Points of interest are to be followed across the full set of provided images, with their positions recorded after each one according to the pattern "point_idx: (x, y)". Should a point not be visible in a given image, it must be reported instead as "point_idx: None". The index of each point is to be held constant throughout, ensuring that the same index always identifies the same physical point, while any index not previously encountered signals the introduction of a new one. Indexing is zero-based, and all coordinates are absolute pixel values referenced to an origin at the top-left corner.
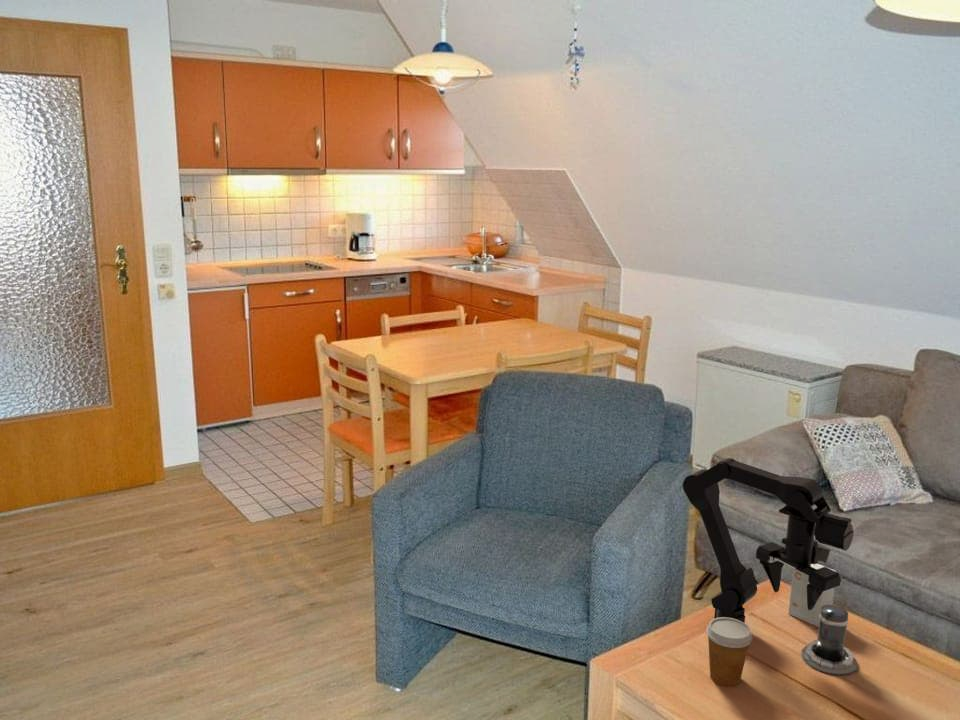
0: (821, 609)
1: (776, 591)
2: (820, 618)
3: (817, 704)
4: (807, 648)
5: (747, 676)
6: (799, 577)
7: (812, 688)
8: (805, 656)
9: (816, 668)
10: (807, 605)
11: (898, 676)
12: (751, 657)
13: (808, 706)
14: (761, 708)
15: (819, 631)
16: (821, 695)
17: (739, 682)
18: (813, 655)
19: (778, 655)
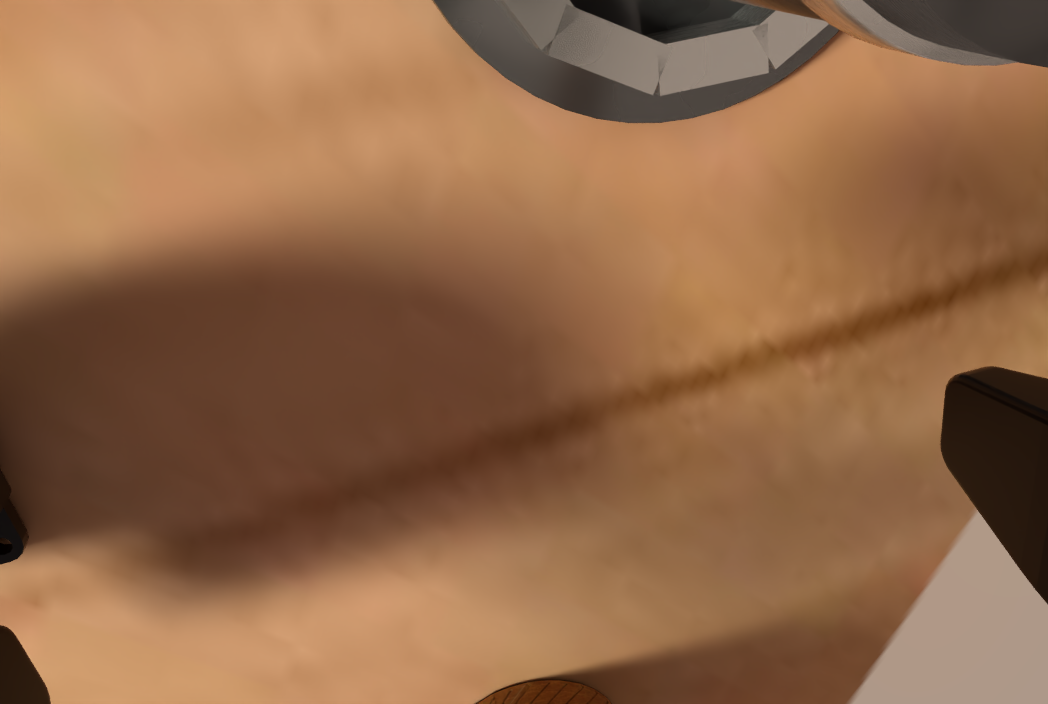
0: (949, 10)
1: (41, 695)
2: (871, 39)
3: None
4: (542, 36)
5: (569, 630)
6: None
7: (872, 307)
8: (554, 74)
9: (730, 102)
10: (1015, 558)
11: None
12: (372, 503)
13: None
14: (839, 684)
15: (750, 1)
16: (955, 300)
17: (608, 700)
18: (669, 72)
19: (414, 279)
